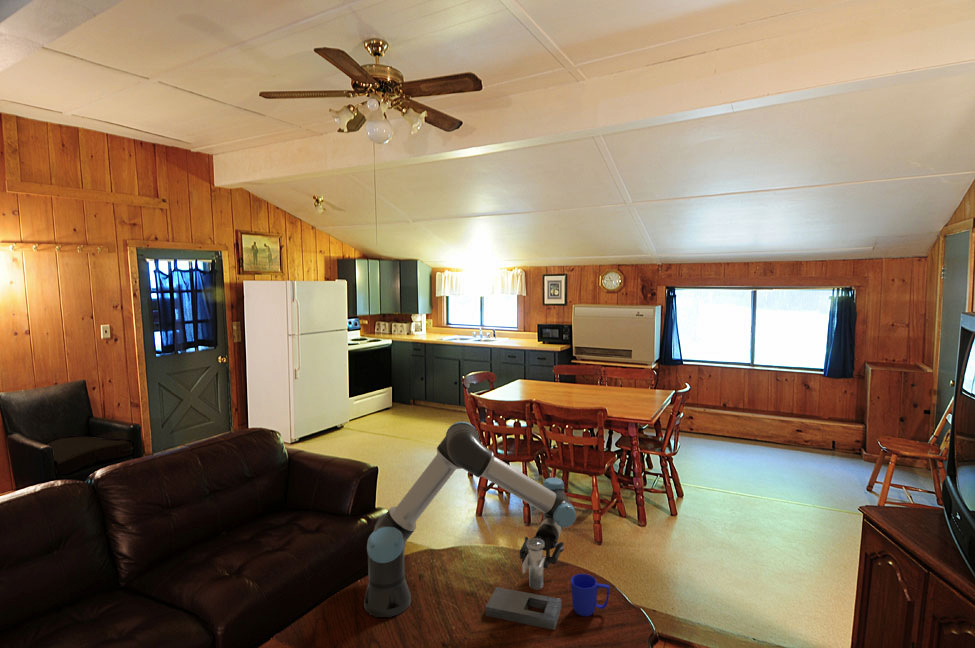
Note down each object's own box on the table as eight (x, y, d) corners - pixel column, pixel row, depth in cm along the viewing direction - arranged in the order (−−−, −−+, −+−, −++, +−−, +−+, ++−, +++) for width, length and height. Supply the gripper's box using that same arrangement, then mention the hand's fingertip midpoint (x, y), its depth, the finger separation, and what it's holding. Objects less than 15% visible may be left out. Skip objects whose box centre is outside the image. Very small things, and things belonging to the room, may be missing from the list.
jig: (485, 615, 160) (485, 606, 160) (496, 595, 170) (496, 586, 170) (554, 630, 153) (554, 620, 152) (561, 608, 163) (561, 599, 163)
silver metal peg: (525, 588, 158) (524, 545, 157) (529, 578, 163) (529, 536, 162) (543, 591, 156) (542, 548, 155) (547, 581, 161) (546, 539, 160)
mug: (610, 622, 156) (610, 591, 155) (570, 617, 158) (570, 587, 157) (609, 605, 164) (609, 576, 163) (571, 601, 166) (571, 572, 165)
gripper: (573, 548, 173) (560, 586, 151) (524, 540, 179) (504, 577, 157) (573, 527, 173) (559, 562, 151) (523, 520, 178) (504, 553, 156)
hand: (531, 570), depth 154 cm, fingers closed on silver metal peg, 4 cm apart
